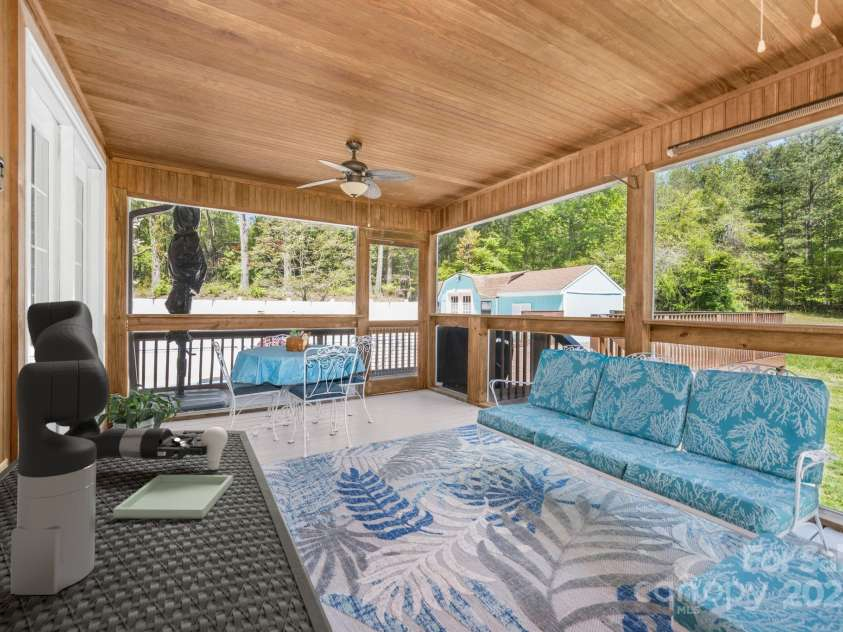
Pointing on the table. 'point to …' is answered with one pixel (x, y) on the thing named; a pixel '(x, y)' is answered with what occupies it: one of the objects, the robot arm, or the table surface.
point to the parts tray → (175, 497)
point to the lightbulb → (214, 445)
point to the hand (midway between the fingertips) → (214, 444)
